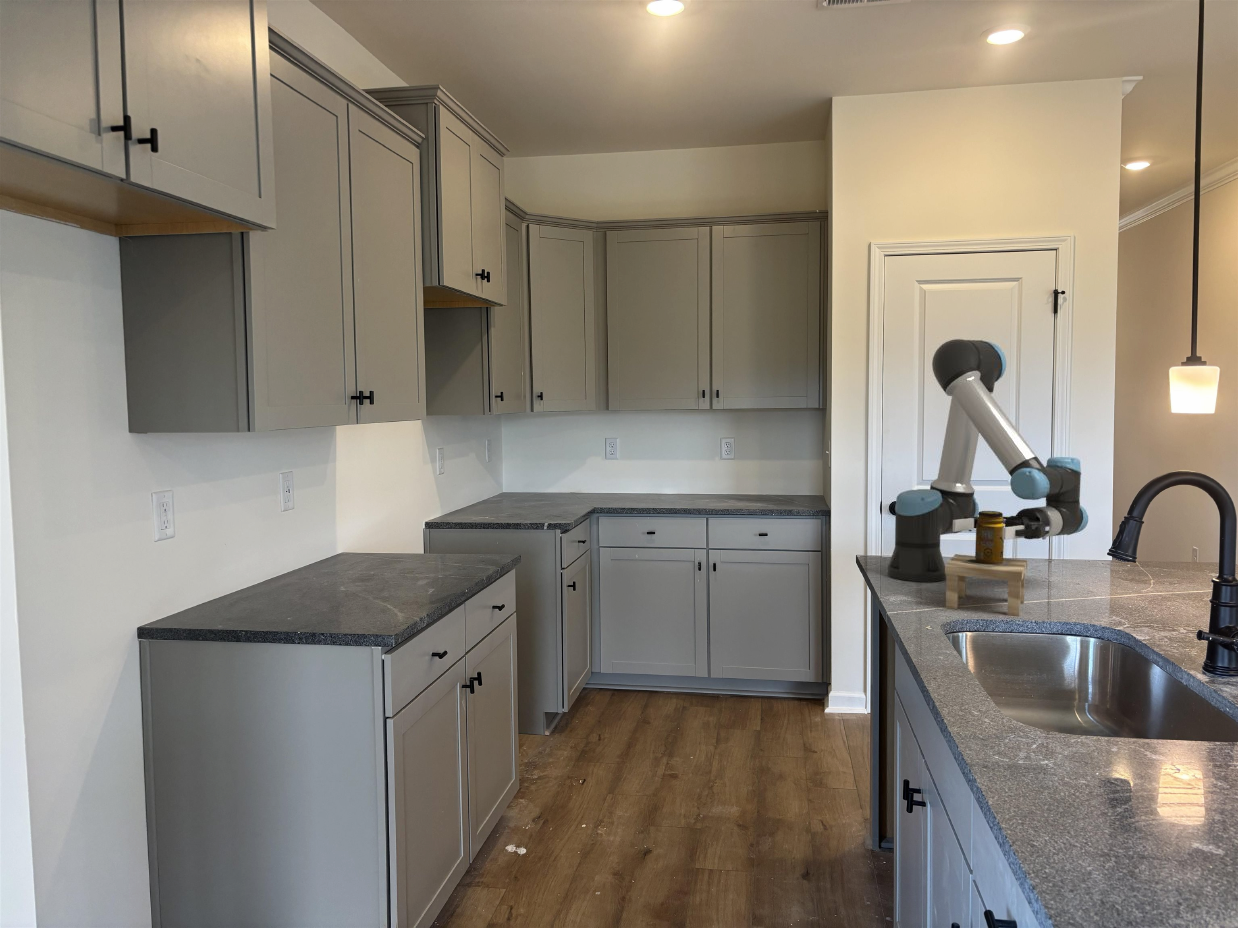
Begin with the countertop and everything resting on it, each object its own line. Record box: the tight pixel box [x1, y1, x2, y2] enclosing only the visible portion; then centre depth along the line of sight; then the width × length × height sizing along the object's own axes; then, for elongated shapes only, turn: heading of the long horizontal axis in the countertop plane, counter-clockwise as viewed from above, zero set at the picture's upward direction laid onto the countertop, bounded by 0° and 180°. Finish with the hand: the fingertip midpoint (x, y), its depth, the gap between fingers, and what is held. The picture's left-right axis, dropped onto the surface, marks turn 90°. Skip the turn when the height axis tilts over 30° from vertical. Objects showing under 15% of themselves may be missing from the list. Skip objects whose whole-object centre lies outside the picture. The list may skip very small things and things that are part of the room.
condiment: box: [963, 510, 1011, 567], centre depth 194 cm, size 7×8×12 cm
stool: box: [945, 553, 1028, 617], centre depth 195 cm, size 16×16×10 cm
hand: (978, 529), depth 193 cm, fingers open, 13 cm apart
